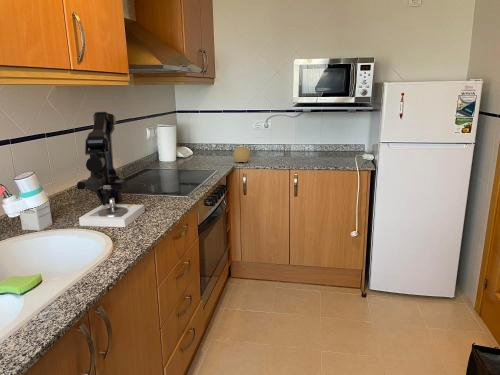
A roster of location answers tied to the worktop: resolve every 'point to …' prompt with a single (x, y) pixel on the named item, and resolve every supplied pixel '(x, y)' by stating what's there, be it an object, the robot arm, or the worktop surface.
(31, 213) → the supplement box
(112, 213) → the dial
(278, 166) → the worktop surface
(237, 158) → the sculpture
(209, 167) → the worktop surface
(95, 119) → the robot arm
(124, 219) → the bezel
